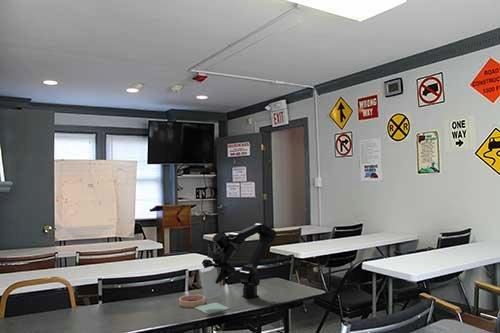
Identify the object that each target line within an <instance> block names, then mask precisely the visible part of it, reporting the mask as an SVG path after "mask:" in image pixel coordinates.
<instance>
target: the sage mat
mask: <svg viewBox="0 0 500 333" xmlns="http://www.w3.org/2000/svg"><path fill="white" fill-rule="evenodd" d="M194 309H195V310H197V311H199V312H201V313H203V314H205V315H211V314H216V313H219V312H223V311H227V310H230V309H231V308H230V307H229V306H226V305H223V304H221V303H218V302H213V303H207V304H204V305H202V306H197V307H194Z"/></svg>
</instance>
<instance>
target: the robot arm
mask: <svg viewBox="0 0 500 333" xmlns="http://www.w3.org/2000/svg"><path fill="white" fill-rule="evenodd" d="M256 234H258V241H259V242H258V244H257V246H256V248H255V250H254V252H253V254H252V255H251V258H250V260H249V262H248V264H247V265H242V267H241V268H240V270H239V274H238V277H239V280H240V284H241V285H243V288H242V297H243V298H246V299H249V300H251V299H254V298H259V297H260V295H258V286H260V282H261V280H260V279H259V278H258V277H257V276H258V267H259V265H260V262H261V260H262V258H263V256H264V254H265V251H266V250H267V248H268V246H269V245H270V244H272V243H273V242H274V240H276V236H277V232H276V230H275V229H273V228H271V227H269V226H268V225H265V224H264V223H259V222H257V223H254V224H253V225H250V226H248V227H247V228H244V229H243V230H239V231H232V232H229V233H228V235H227V233H226V232H225V231H224V230H220V231H219V232H217V233H216V234H214V235H213V237H212V241H213V242H214V244H215V245H216V246H217V247H218V248H219V249H221V250H217V251H213V250H209V251H208V254H207V258H206V259H203V261H202V262H201V264H202V266H203V269H204V268H207V267H211V266H214V267H215V268H216V269H219V270H220V271H219V274H218V278H217V280H216V284H218V283H221V282H222V281H224V280H225V279H227V278H228V277H230V276H231V277H232V275H233V276H234V275H235V273H236V268H235V266H234V265H233V264H232V263H231V261H232V259H231V258H232V256H233V255H234V253H239V249H238V246H240V245H242V244H243V243H244V242H246V239H247V238H249V237H252V236H254V235H256ZM235 245H237V246H235Z"/></svg>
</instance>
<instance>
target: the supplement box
mask: <svg viewBox="0 0 500 333" xmlns="http://www.w3.org/2000/svg"><path fill="white" fill-rule="evenodd" d="M198 272H199V278H200V284H201V289H202V290H201V291H202V296H205V300H210V299H213V298H216V297H220V296H223V295H222V289H221V285H220V283H221V282H219V283H218V284H216V280H217V278H218V276H219V274H218V268H215V267H214V266H211V267H207V268H204V267H203V268H201V269H198Z"/></svg>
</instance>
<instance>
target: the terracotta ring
mask: <svg viewBox="0 0 500 333" xmlns="http://www.w3.org/2000/svg"><path fill="white" fill-rule="evenodd" d="M202 305H206V298H205V296H204V295H203V294H187V295H183V296H181V297H179V298H178V306H180V307H183V308H195V307H198V306H202Z"/></svg>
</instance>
